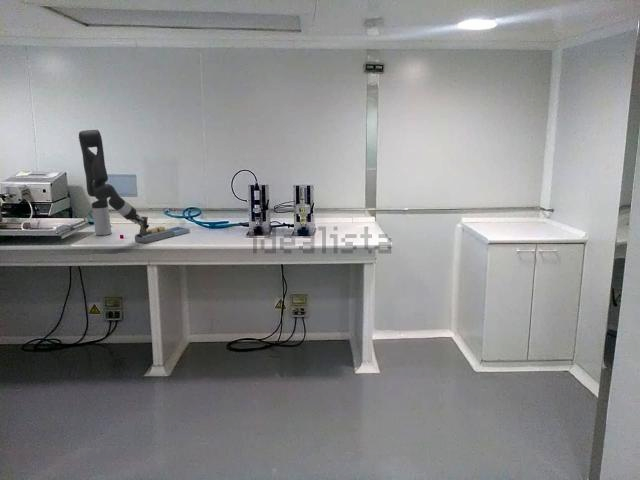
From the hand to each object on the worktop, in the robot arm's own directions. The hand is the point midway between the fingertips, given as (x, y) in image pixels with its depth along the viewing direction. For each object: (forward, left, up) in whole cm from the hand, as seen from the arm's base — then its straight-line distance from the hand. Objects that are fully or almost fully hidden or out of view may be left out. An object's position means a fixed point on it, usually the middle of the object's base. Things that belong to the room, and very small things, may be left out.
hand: (146, 226), depth 289 cm
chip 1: (-2, +3, -5) cm, 6 cm away
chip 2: (-5, +8, -5) cm, 11 cm away
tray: (-12, +17, -8) cm, 23 cm away
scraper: (+2, -2, -5) cm, 5 cm away
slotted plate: (-3, +4, -8) cm, 9 cm away
